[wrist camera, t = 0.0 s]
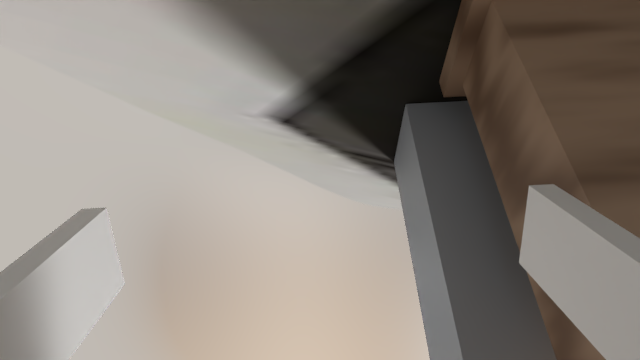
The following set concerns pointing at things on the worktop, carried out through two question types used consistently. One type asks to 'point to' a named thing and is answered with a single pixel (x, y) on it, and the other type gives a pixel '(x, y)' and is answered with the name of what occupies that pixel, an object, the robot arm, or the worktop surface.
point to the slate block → (463, 242)
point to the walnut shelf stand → (554, 112)
